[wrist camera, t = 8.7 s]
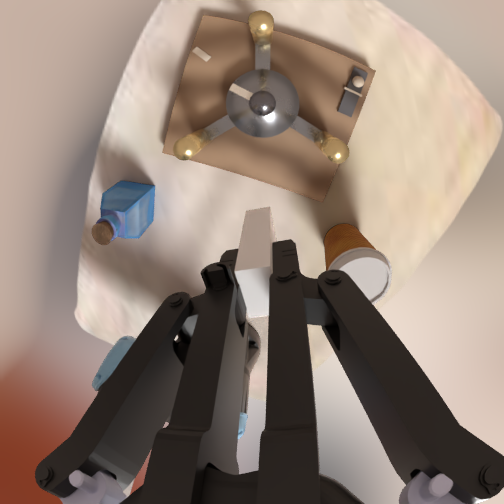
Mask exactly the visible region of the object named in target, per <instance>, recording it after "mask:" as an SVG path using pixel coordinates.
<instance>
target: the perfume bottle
mask: <svg viewBox="0 0 504 504" xmlns="http://www.w3.org/2000/svg"><path fill="white" fill-rule="evenodd" d="M154 196H155V186H154V185H148V184H141V183H135V182H128V181H120V182H118V183H117V184H115V185H114V186H113V187H111V188H110V189H108V190H107V191H105V192H104V193H103V194H102V201H101V208H100V209H101V218H100V219H99V220H98V221H97V222H96V224H95V225H94V226H93V228H92V236H93V238H94V239H95V241H96V242H98V243H99V244H101V245H107V244H109V243H110V241H113V240H114V239H115V238H116V237H121V238H140V236H141V235H142V234H143V233H144V231H145V230H146V229H147V228H148V226H149V225H150V224H151V223H152V222H153V216H154Z"/></svg>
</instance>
